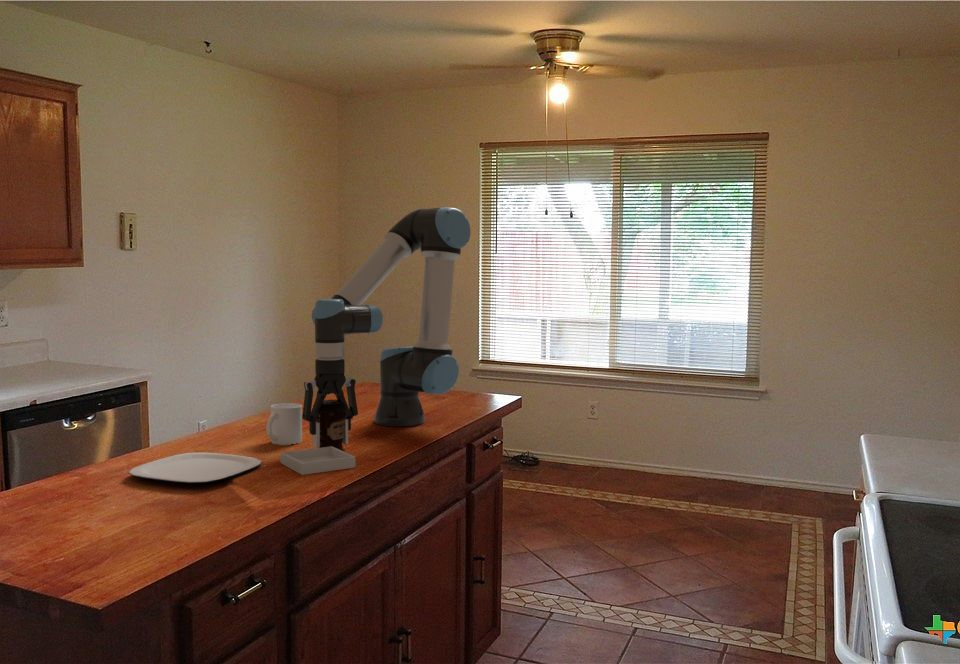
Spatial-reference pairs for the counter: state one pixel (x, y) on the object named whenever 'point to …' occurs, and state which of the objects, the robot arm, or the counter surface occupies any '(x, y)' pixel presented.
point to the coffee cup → (332, 423)
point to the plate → (195, 467)
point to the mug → (285, 424)
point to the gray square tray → (317, 460)
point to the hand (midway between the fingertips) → (330, 444)
